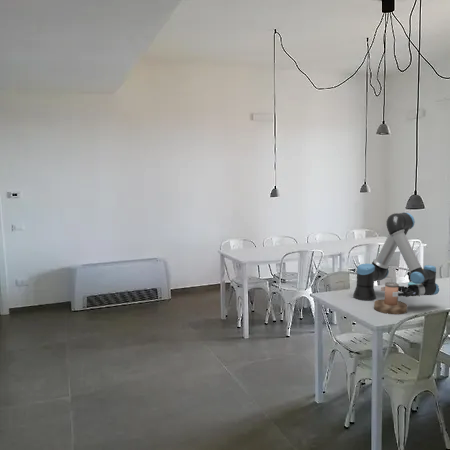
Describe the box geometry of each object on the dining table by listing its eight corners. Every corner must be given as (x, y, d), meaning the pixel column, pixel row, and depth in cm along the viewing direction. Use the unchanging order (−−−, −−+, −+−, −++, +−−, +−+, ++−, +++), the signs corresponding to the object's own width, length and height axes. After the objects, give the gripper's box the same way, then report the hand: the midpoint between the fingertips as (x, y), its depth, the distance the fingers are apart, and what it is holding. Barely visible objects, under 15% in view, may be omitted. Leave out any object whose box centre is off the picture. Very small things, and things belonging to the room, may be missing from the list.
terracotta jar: (381, 302, 313) (382, 282, 311) (392, 301, 315) (393, 282, 313) (388, 305, 305) (389, 285, 303) (400, 305, 307) (401, 285, 305)
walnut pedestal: (374, 312, 303) (374, 306, 303) (373, 304, 323) (374, 298, 322) (408, 315, 298) (408, 309, 298) (405, 306, 317) (405, 300, 317)
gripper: (427, 300, 302) (397, 302, 296) (403, 290, 326) (375, 292, 321) (428, 289, 301) (398, 290, 296) (404, 280, 325) (376, 281, 320)
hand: (386, 291), depth 308 cm, fingers open, 13 cm apart
